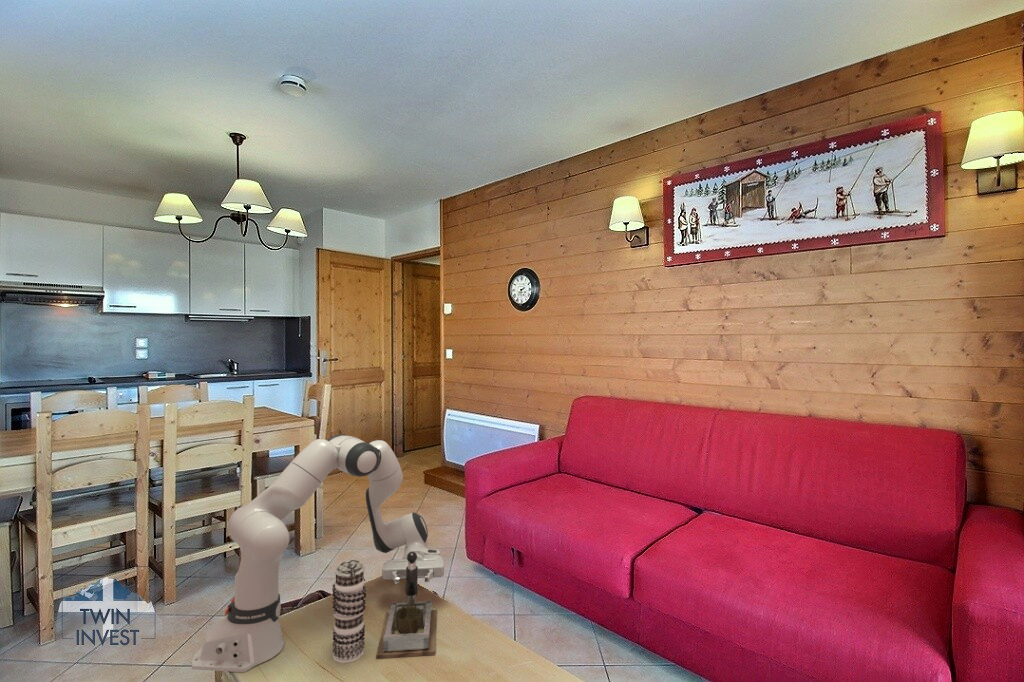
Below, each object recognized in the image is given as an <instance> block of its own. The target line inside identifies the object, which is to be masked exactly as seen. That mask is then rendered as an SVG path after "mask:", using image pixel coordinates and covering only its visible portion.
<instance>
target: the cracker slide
mask: <svg viewBox="0 0 1024 682" xmlns="http://www.w3.org/2000/svg"><path fill="white" fill-rule="evenodd" d="M407 560H408V561H409V562H408V567H406V579H405V595H406V596H407V602H406V601H405V602H391V605H390V609H389V612H390V613H389V617H388V622H387V627H386V631H385V635H384V637H383V652H389V651H404V650H419V649H429V637H430V622H431V610H432V600H426V601H416V595H418V581H419V580H418V579H419V578H418V567H417V566H416V560H417V554H416V553H415V552H410V553H409V554H408V555H407ZM408 605H409V606H412V605H413V606H423V613H426V615H425V627H424V629H423V632H416V633H407V634H400V633H394V634H392V632H393V627H394V622H395V617H396V610H397V607H402V606H404V607H407V606H408Z"/></svg>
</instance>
